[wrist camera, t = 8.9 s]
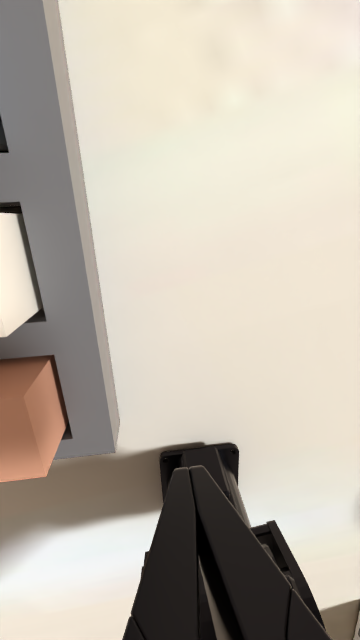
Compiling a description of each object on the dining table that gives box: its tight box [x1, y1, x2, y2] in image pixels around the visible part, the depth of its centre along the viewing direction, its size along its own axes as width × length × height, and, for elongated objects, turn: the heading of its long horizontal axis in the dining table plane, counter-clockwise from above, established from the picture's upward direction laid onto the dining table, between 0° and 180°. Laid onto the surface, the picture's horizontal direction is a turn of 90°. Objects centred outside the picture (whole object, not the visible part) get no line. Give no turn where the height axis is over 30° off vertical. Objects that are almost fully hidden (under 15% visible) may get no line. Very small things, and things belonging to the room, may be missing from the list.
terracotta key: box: [0, 355, 69, 482], centre depth 16 cm, size 5×5×5 cm
